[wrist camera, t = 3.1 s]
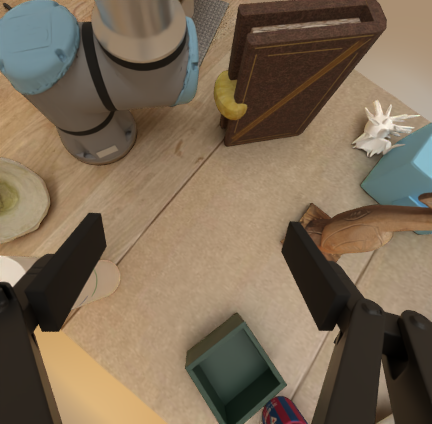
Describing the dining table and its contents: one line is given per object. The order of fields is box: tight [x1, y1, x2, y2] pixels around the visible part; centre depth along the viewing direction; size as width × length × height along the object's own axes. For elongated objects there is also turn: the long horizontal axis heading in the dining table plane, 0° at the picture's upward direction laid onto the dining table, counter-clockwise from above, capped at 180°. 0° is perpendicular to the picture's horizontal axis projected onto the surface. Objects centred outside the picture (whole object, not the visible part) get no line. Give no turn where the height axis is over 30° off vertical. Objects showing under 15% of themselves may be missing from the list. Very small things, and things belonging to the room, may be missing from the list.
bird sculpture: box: [280, 192, 432, 263], centre depth 34 cm, size 11×12×32 cm
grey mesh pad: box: [178, 0, 195, 19], centre depth 55 cm, size 3×11×8 cm, turn 160°
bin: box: [185, 313, 287, 424], centre depth 40 cm, size 12×12×7 cm
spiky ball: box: [352, 100, 421, 157], centre depth 52 cm, size 11×12×8 cm
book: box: [214, 0, 387, 146], centre depth 42 cm, size 22×8×25 cm, turn 102°
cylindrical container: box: [0, 255, 121, 310], centre depth 33 cm, size 7×7×25 cm
